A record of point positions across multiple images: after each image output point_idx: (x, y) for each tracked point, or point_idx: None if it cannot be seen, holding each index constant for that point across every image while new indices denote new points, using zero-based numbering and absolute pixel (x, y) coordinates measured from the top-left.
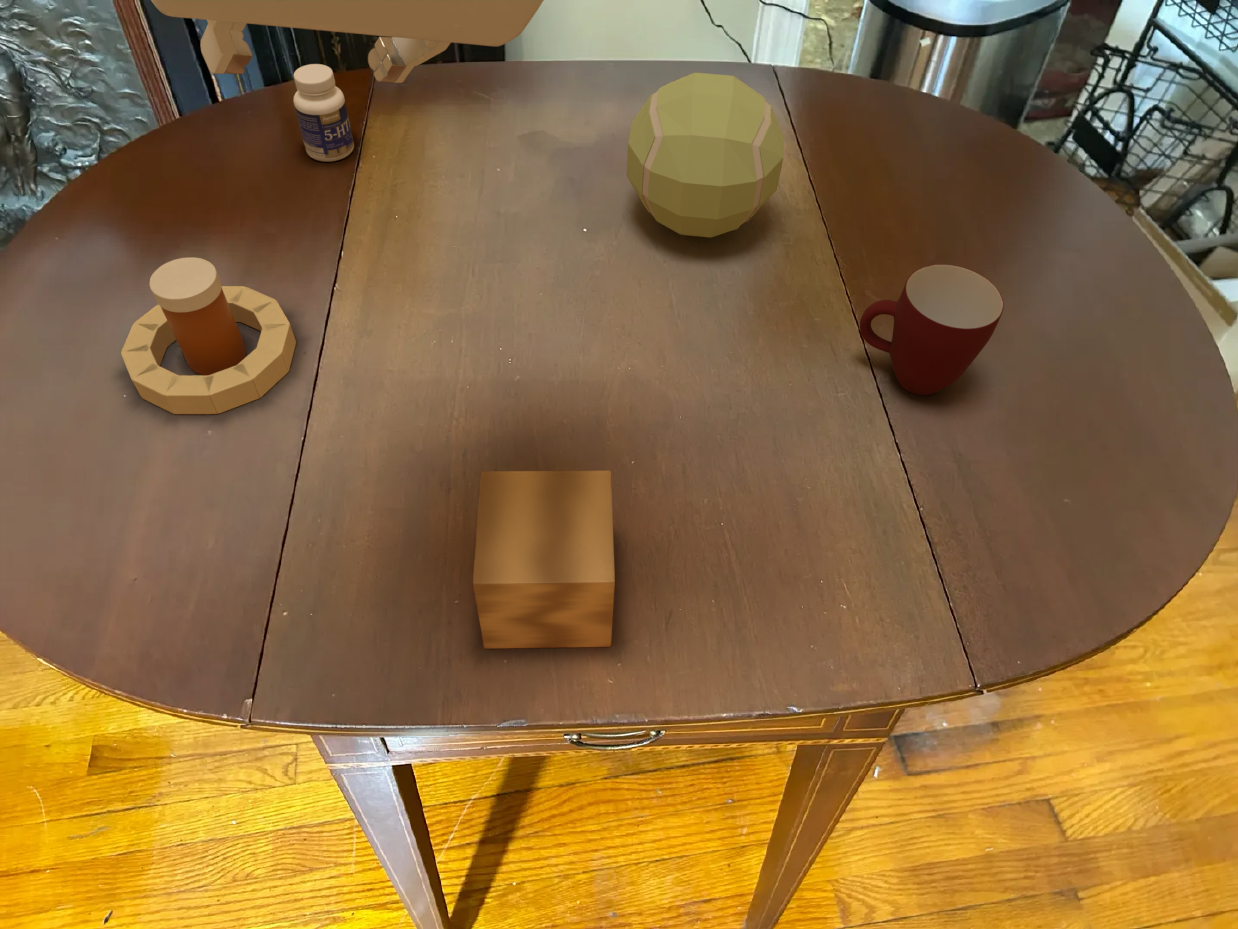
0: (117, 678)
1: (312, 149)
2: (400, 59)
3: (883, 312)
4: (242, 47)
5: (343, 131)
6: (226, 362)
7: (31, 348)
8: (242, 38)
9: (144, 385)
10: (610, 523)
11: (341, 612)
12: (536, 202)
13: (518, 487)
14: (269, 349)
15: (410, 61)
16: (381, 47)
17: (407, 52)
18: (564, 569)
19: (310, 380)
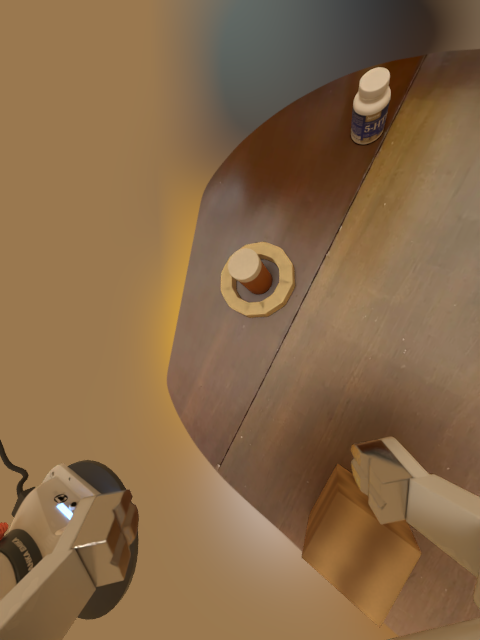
0: (186, 425)
1: (354, 135)
2: (402, 511)
3: None
4: (107, 576)
5: (378, 125)
6: (259, 292)
7: (198, 249)
8: (109, 562)
9: (224, 297)
10: (399, 590)
11: (260, 451)
12: None
13: (354, 518)
14: (277, 297)
15: (419, 531)
16: (377, 489)
17: (423, 521)
18: (353, 593)
19: (292, 315)
